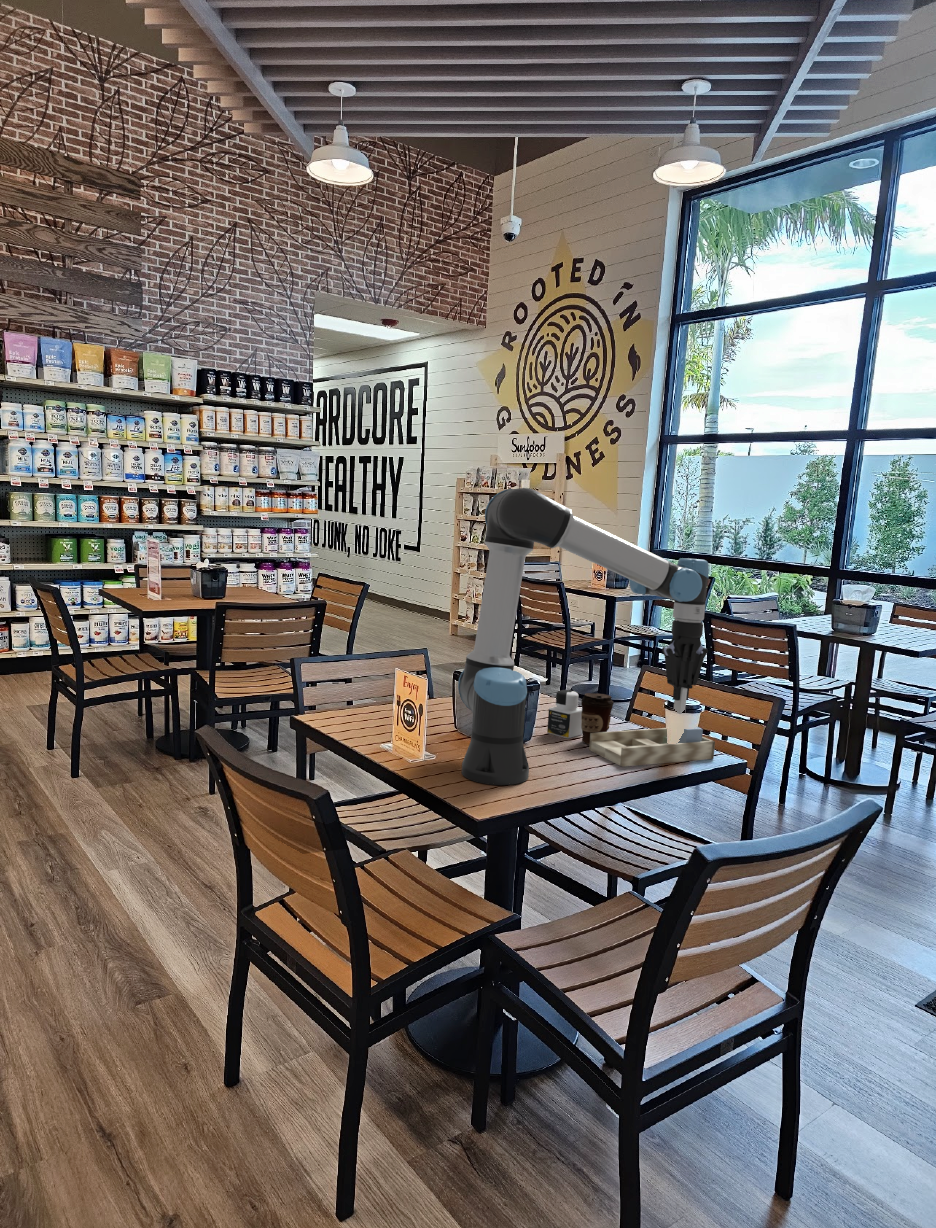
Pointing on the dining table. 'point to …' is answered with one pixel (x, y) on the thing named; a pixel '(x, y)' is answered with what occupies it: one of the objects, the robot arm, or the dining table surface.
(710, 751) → the serving tray
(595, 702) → the coffee cup
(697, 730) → the slate block
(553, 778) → the dining table surface
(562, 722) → the medicine bottle
